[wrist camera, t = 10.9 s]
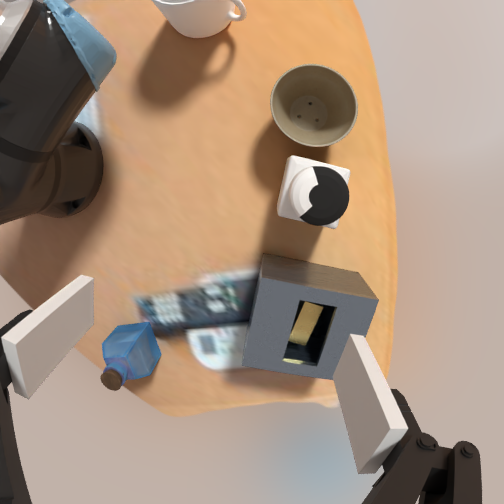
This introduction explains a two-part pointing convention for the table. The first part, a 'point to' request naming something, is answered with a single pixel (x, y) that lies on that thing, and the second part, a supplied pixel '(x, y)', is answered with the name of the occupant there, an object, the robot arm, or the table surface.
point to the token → (304, 321)
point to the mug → (200, 15)
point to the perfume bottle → (129, 354)
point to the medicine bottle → (313, 192)
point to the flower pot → (314, 105)
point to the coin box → (284, 310)
